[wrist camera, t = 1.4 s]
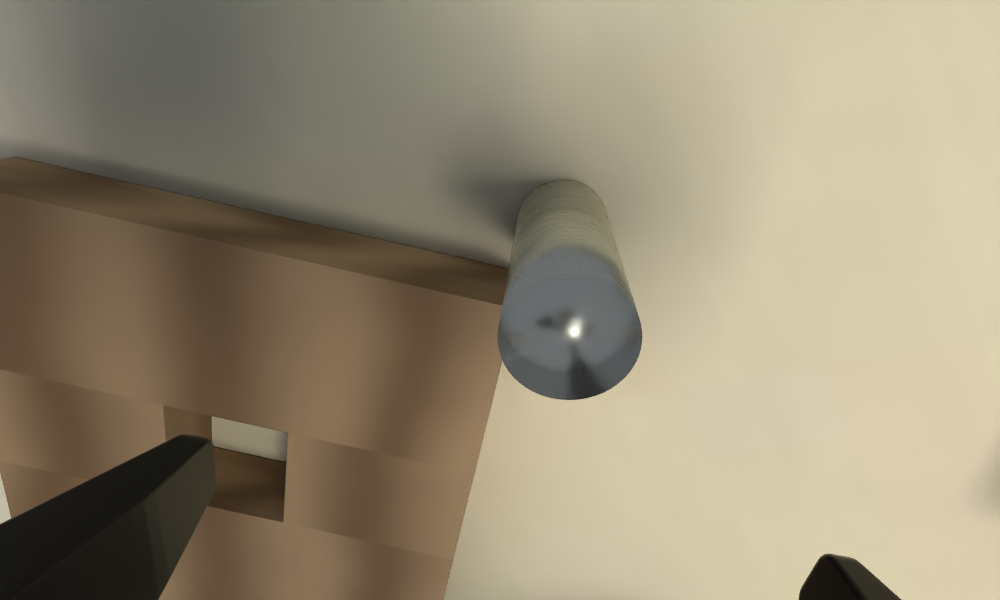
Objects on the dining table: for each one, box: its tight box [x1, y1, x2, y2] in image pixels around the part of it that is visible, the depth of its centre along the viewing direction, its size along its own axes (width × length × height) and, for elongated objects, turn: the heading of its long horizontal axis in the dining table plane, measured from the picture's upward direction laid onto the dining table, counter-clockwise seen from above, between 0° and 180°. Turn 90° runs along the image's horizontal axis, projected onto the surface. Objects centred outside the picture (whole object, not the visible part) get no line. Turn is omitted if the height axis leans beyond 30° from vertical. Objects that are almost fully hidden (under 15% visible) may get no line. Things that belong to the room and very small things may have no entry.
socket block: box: [0, 157, 509, 600], centre depth 22 cm, size 18×18×3 cm
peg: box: [497, 180, 642, 400], centre depth 15 cm, size 3×3×8 cm
